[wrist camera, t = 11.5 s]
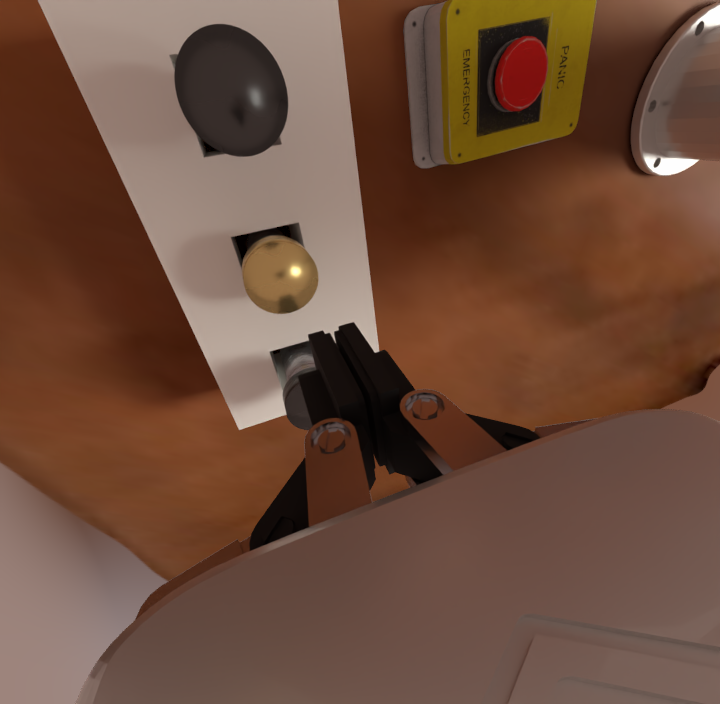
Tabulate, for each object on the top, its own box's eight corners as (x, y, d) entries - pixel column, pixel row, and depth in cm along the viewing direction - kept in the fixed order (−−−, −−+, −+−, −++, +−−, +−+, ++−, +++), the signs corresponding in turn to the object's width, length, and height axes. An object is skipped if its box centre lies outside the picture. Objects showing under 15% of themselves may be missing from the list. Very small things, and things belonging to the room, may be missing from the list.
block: (307, 12, 21) (335, -23, 16) (359, 347, 34) (382, 382, 29) (84, 33, 18) (37, -1, 13) (236, 384, 32) (239, 429, 27)
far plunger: (316, 322, 27) (343, 372, 21) (326, 363, 29) (352, 418, 24) (265, 336, 26) (278, 392, 21) (279, 377, 28) (294, 438, 23)
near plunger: (255, 53, 18) (272, 18, 12) (276, 143, 20) (298, 147, 15) (174, 62, 17) (153, 30, 12) (205, 155, 19) (200, 164, 14)
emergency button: (431, -11, 19) (649, -46, 22) (398, 12, 22) (588, -21, 25) (439, 176, 24) (612, 130, 27) (411, 171, 28) (567, 130, 30)
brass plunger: (288, 210, 24) (310, 234, 18) (301, 266, 26) (324, 303, 20) (228, 223, 23) (232, 252, 17) (247, 279, 25) (256, 321, 20)
